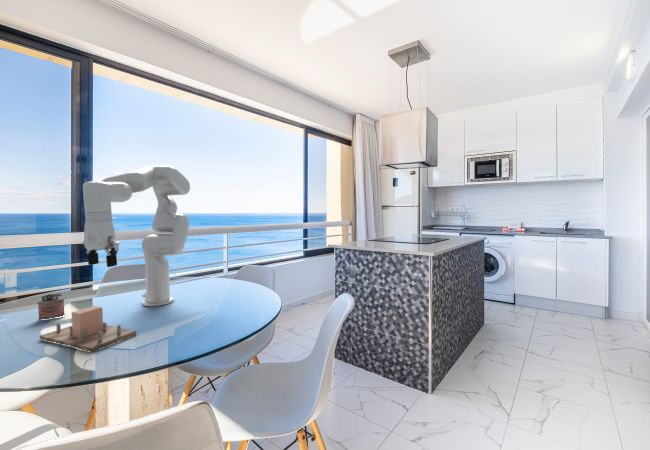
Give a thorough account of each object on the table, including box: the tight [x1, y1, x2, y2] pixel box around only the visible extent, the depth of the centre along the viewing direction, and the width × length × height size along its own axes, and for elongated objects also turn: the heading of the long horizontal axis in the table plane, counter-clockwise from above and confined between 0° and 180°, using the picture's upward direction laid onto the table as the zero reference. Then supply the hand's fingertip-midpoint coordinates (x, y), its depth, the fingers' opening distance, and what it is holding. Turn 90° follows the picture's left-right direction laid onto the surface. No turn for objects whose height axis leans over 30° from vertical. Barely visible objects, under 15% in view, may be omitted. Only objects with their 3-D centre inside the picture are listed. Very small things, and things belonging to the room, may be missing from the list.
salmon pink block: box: [71, 305, 104, 338], centre depth 102 cm, size 4×7×8 cm, turn 158°
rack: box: [39, 321, 137, 353], centre depth 102 cm, size 26×14×4 cm, turn 69°
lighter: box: [37, 292, 66, 320], centre depth 121 cm, size 8×3×10 cm, turn 117°
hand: (102, 265), depth 109 cm, fingers open, 9 cm apart
